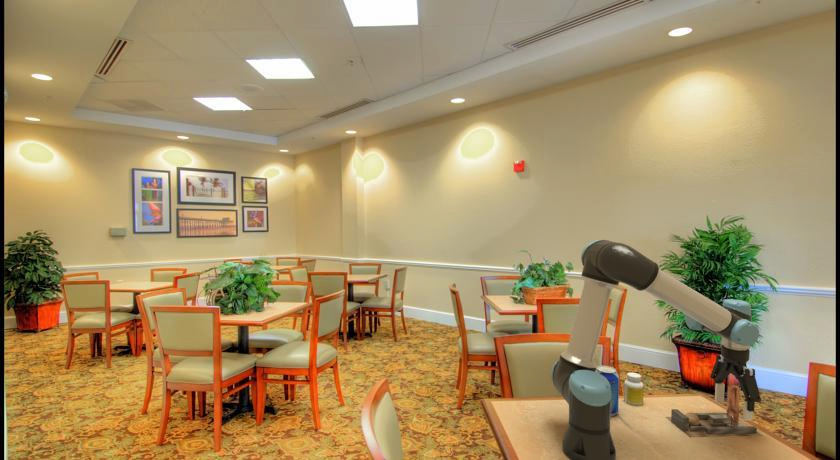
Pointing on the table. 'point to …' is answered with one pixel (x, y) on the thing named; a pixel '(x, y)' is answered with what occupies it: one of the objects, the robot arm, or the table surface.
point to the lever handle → (729, 410)
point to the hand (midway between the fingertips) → (732, 410)
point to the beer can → (614, 384)
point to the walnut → (693, 419)
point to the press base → (709, 426)
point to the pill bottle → (633, 390)
